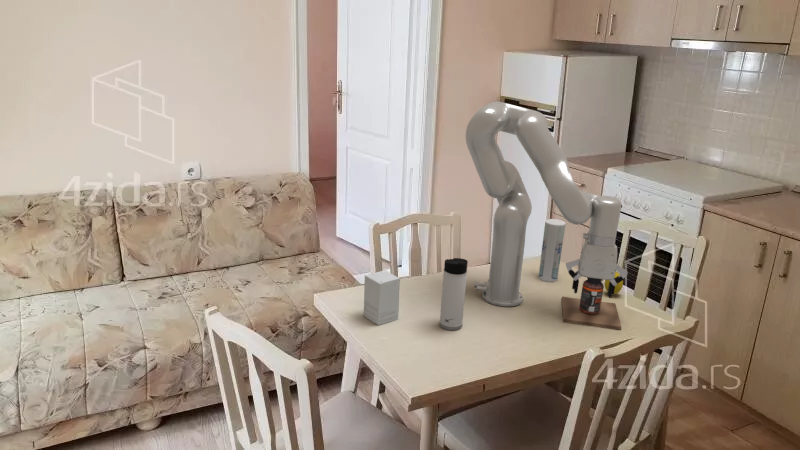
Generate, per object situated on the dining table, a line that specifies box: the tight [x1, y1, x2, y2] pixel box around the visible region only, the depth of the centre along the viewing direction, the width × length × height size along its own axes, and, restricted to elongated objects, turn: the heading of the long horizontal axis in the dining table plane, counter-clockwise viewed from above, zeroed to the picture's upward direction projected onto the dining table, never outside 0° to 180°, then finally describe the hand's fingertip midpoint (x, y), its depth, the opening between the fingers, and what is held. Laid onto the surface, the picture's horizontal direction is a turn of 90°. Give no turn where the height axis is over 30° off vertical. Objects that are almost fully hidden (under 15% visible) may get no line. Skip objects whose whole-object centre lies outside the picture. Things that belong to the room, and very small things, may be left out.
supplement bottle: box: [579, 277, 605, 314], centre depth 188 cm, size 6×6×11 cm
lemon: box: [604, 270, 624, 295], centre depth 203 cm, size 6×6×8 cm
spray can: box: [538, 218, 567, 283], centre depth 212 cm, size 6×6×20 cm
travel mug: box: [439, 257, 469, 331], centre depth 175 cm, size 6×7×20 cm
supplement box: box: [363, 270, 401, 326], centre depth 179 cm, size 7×7×13 cm
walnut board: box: [561, 296, 622, 331], centre depth 190 cm, size 16×16×1 cm
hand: (592, 293), depth 188 cm, fingers open, 9 cm apart
